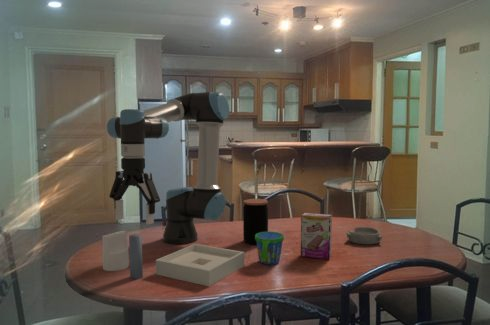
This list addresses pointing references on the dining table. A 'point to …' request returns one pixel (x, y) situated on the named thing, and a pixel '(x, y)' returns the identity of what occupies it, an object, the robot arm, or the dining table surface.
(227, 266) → the beige square tray
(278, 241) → the snack cup
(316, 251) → the candy bar box
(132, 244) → the peg
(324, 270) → the dining table surface
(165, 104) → the robot arm
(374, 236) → the dish
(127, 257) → the white stepped block
